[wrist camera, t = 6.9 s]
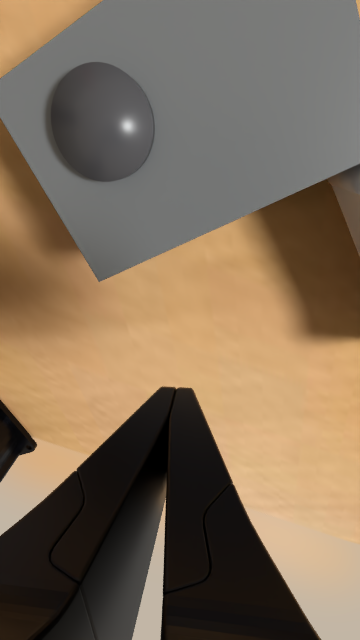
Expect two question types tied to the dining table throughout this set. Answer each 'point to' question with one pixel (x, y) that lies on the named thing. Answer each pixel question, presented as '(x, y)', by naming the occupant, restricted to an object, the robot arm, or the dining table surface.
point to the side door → (349, 199)
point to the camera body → (184, 116)
